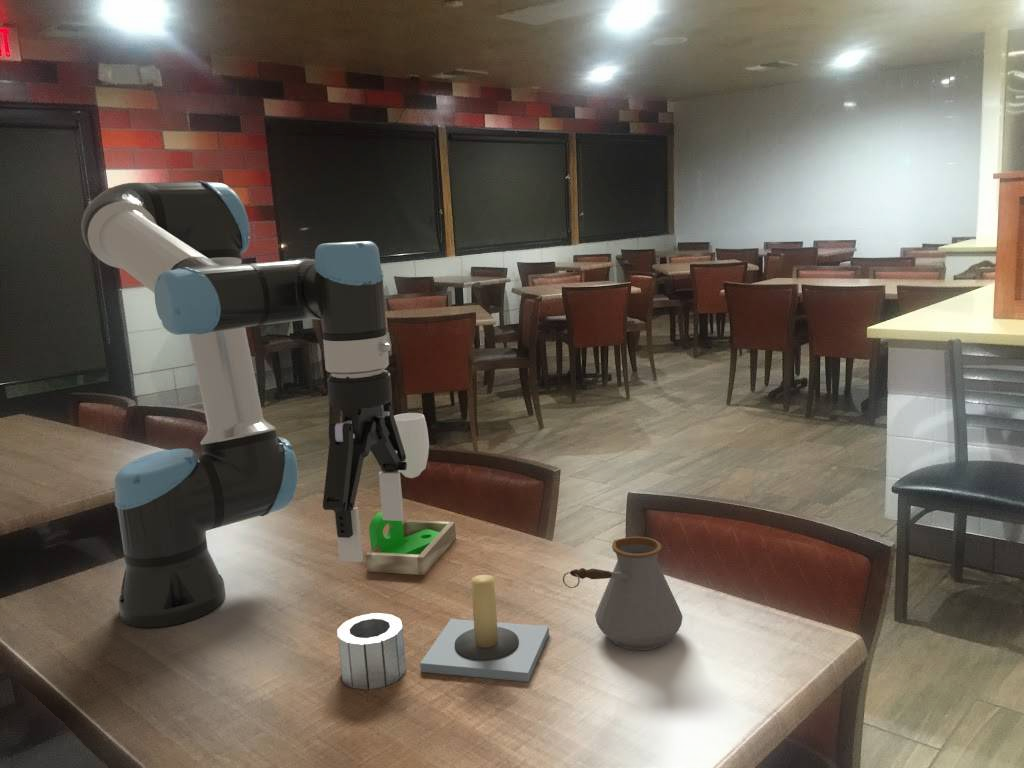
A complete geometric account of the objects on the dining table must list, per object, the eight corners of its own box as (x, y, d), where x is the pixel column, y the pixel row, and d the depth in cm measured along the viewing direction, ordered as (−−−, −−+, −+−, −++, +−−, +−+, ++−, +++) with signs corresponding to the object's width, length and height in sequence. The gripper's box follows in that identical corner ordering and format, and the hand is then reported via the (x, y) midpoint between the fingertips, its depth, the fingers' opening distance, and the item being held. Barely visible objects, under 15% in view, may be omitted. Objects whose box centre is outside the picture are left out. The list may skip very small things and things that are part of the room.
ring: (330, 685, 104) (326, 641, 103) (358, 653, 112) (354, 611, 110) (390, 691, 102) (386, 646, 101) (414, 658, 110) (411, 615, 108)
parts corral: (367, 571, 138) (365, 554, 137) (403, 535, 153) (402, 519, 152) (424, 575, 135) (423, 557, 135) (455, 537, 150) (454, 521, 150)
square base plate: (420, 671, 106) (414, 596, 104) (451, 626, 118) (446, 558, 116) (528, 681, 103) (524, 604, 101) (549, 634, 114) (545, 563, 112)
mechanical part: (394, 569, 138) (388, 523, 136) (373, 561, 142) (367, 516, 141) (449, 546, 146) (444, 502, 145) (428, 539, 150) (423, 496, 149)
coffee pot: (624, 608, 120) (621, 509, 117) (697, 629, 113) (696, 524, 110) (535, 676, 104) (529, 562, 101) (614, 705, 97) (611, 583, 94)
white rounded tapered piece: (442, 520, 160) (434, 414, 156) (418, 532, 154) (410, 422, 150) (412, 514, 164) (404, 411, 160) (388, 526, 158) (379, 419, 154)
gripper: (343, 393, 88) (361, 582, 92) (422, 354, 112) (433, 505, 116) (278, 393, 90) (299, 579, 94) (369, 355, 114) (382, 504, 118)
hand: (373, 539), depth 105 cm, fingers open, 13 cm apart
